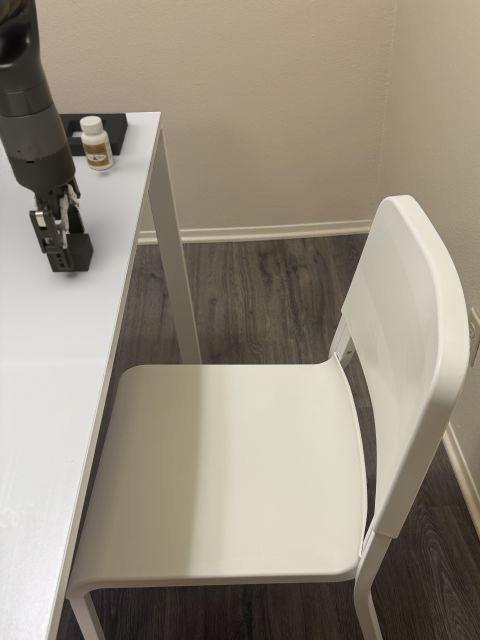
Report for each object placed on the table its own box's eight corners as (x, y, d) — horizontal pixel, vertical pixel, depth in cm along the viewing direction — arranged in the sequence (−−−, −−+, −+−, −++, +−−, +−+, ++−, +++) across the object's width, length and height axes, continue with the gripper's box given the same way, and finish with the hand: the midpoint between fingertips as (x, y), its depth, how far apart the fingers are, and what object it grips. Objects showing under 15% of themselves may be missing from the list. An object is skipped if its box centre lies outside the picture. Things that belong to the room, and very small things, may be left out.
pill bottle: (86, 170, 105) (74, 126, 99) (91, 158, 108) (79, 114, 102) (111, 170, 105) (101, 126, 100) (116, 158, 108) (106, 114, 102)
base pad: (45, 156, 108) (42, 144, 107) (59, 125, 116) (55, 113, 114) (119, 155, 109) (116, 143, 107) (128, 124, 117) (125, 112, 115)
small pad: (52, 272, 87) (46, 254, 85) (59, 251, 90) (53, 233, 88) (87, 271, 87) (82, 253, 85) (93, 250, 90) (88, 233, 88)
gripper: (18, 116, 80) (56, 223, 92) (-12, 171, 70) (34, 283, 83) (76, 114, 80) (106, 222, 92) (54, 169, 71) (90, 281, 83)
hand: (72, 250), depth 87 cm, fingers open, 8 cm apart
